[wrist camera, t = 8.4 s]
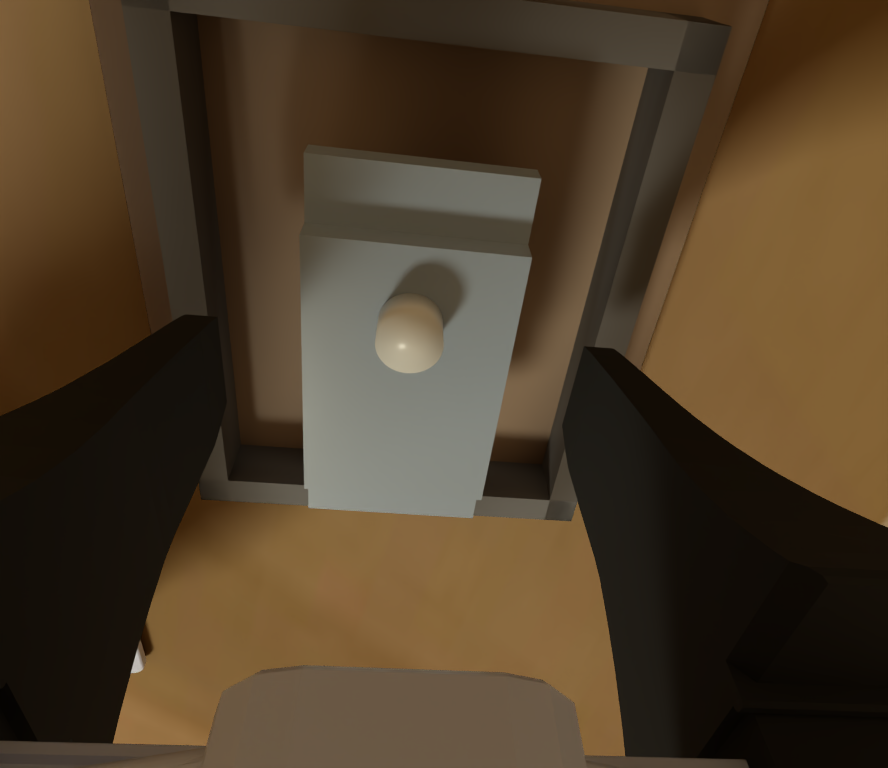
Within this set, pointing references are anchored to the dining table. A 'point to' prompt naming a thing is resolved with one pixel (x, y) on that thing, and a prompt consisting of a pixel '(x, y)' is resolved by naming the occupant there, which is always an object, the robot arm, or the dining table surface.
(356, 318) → the block
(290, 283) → the pocket plate
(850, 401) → the dining table surface
